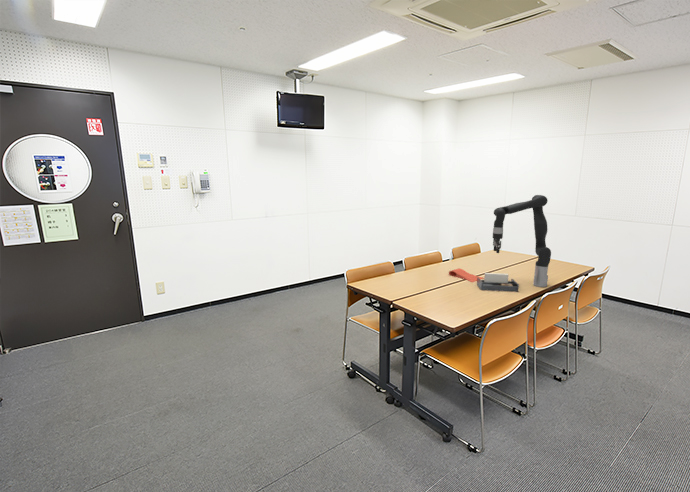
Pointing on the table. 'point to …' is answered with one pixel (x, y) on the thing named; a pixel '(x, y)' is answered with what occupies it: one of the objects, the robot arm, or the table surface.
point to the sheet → (464, 275)
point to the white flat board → (496, 277)
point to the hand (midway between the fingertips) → (496, 252)
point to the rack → (498, 286)
